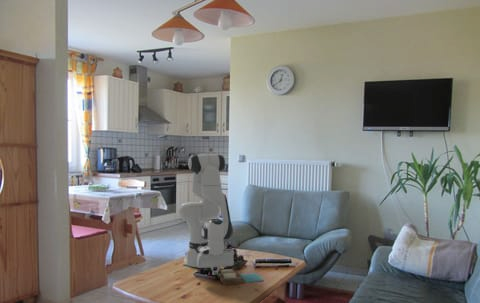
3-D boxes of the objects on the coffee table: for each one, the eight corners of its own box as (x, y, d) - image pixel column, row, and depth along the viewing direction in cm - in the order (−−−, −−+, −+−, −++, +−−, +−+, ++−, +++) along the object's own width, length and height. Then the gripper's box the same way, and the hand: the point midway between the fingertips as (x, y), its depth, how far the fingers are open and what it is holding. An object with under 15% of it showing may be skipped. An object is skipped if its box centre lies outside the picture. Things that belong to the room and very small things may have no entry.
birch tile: (221, 273, 212) (221, 269, 212) (231, 272, 214) (231, 268, 214) (225, 278, 203) (225, 275, 203) (235, 277, 205) (235, 274, 205)
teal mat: (240, 274, 217) (240, 274, 217) (256, 273, 220) (256, 273, 220) (246, 282, 206) (246, 281, 206) (263, 281, 208) (263, 280, 208)
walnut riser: (217, 276, 214) (217, 271, 214) (236, 274, 217) (236, 270, 217) (223, 285, 201) (223, 280, 201) (243, 283, 204) (243, 279, 204)
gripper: (232, 246, 212) (232, 271, 212) (196, 248, 207) (196, 273, 207) (235, 249, 206) (235, 275, 206) (198, 251, 200) (197, 277, 201)
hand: (215, 274), depth 206 cm, fingers closed
